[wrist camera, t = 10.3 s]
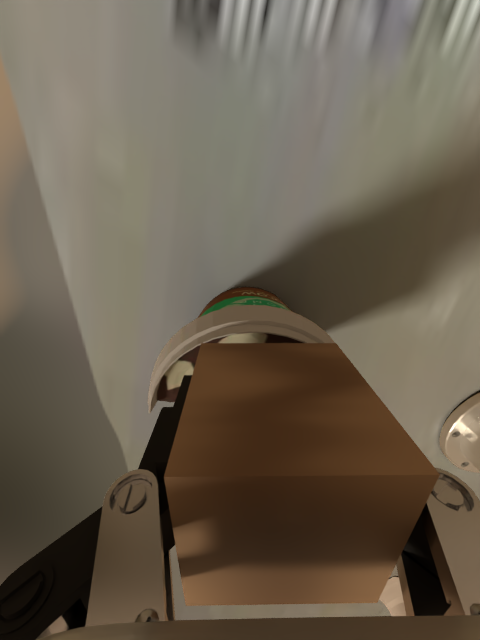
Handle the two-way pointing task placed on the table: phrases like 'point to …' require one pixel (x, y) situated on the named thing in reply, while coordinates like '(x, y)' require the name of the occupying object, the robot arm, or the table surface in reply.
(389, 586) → the candle
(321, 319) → the table surface
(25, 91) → the table surface
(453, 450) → the robot arm
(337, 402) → the walnut block
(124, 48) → the table surface
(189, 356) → the food container
